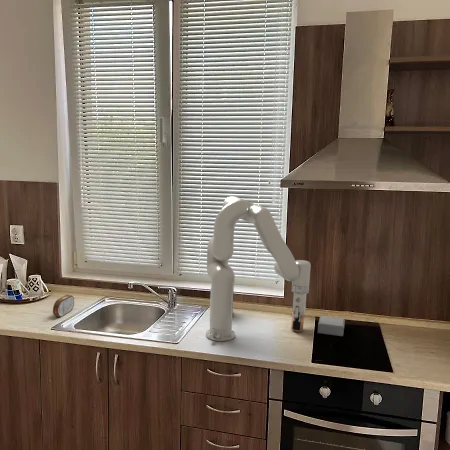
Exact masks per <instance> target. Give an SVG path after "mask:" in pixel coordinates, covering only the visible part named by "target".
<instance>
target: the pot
mask: <svg viewBox="0 0 450 450" xmlns="http://www.w3.org/2000/svg"><path fill="white" fill-rule="evenodd" d="M298 315H300V313H298ZM298 317H299V316H298ZM293 321H294V314H293V312H292V313H291V324H290V325H291V329H290V330H292V331H293V332H304V321H305V314H304V315H303V316H302V315H301V317H300V322H301V324H300V330H293Z"/></svg>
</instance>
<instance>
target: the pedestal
mask: <svg viewBox="0 0 450 450" xmlns="http://www.w3.org/2000/svg"><path fill="white" fill-rule="evenodd" d="M345 322H346V320H345V318H340V317H333V316H332V317H331V316H324V315H320V316H319V320H318V324H317V334H324V335H330V336H339V337H344V330H345Z"/></svg>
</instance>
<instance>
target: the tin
mask: <svg viewBox="0 0 450 450" xmlns="http://www.w3.org/2000/svg"><path fill="white" fill-rule="evenodd" d="M74 306H75V297H74V295H71V294H65V295H63V296H61V297H60V298H57V299H56V301H54V304H53V305H52V313H53V316H54V317H58V318H62V317H63V316H65V315H67V314H68V313H70V312H72V310H73V309H74Z"/></svg>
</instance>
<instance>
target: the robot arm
mask: <svg viewBox="0 0 450 450" xmlns="http://www.w3.org/2000/svg"><path fill="white" fill-rule="evenodd" d="M239 220H242V221H244V222H247V223H250V224H253V226H254V227H255V229H256V231H257V234H258V236H259V238H260V241H261V243H262V245H263V247H264V248H265V249H266V251H267V252H268V253H269V254H270V255H271V256H272V257H273V259H274V260H275V263H274V267H273V268H274V271H275V273H276V274H277V275H278V276H280V277H281V278H282V279H284V280H286V281H288V282H291V292H292V293H293V299H292V313H293V314H294V321H293V330H300V324H301V322H300V317H301V315H302V316H303V315H304V316H305V312H306V311H307V310H306V309H307V294H309V292H310V281H311V279H310V278H311V267H312V266H311V262H310V261H308V260H303V259H295V257H294V255H293V253H292V251H291V250H290V248H289V247H288V245H287V244H286V241H285V240H284V238H283V237H282V235H281V233H280V230H279V228H278V226H277V224H276V222H275V219H274V217H273V215H272V213H271V211H270V210H269V209H268V208H267V207H264V206H262V205H259V204H256V203H253V202H251V201H247V200H245V199H243V198H241V197H238V196H234V195H233V196H228V197H226V198H225V199H224V201H223V203H222V208H221V209H220V210H219V212H218V214H217V215H216V218H215V220H214V225H213V235H212V237H211V238H210V239H209V241H208V242H207V243H208V244H207V251H206V271H207V275H208V277H209V278H210V280H211V286H210V295H209V296H210V297H209V299H210V300H209V301H210V302H209V304H210V306H209V307H210V308H209V309H210V310H209V329H207V330H206V331H205V337H206V338H208V339H209V340H211V341H212V340H213V341H216V342H227V341H231V340H233V339H234V338H235V337H236V333H235V331H234V330H233V313H232V307H233V308H234V291H233V288H235V287H234V286H235V280H236V277H235V272H234V269H233V268H232V267H231V266H230V265H229V260H230V259H231V258H232V257H233V255H234V249H235V247H234V244H235V241H234V239H235V236H234V235H235V227H236V224H237V222H238V221H239ZM298 313H300V315H298ZM298 316H299V317H298ZM293 330H292V331H293Z"/></svg>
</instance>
